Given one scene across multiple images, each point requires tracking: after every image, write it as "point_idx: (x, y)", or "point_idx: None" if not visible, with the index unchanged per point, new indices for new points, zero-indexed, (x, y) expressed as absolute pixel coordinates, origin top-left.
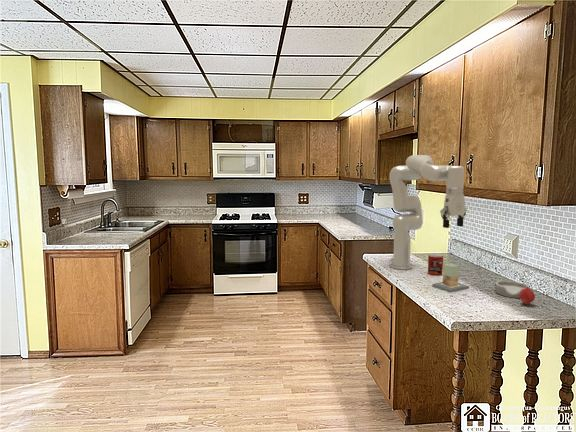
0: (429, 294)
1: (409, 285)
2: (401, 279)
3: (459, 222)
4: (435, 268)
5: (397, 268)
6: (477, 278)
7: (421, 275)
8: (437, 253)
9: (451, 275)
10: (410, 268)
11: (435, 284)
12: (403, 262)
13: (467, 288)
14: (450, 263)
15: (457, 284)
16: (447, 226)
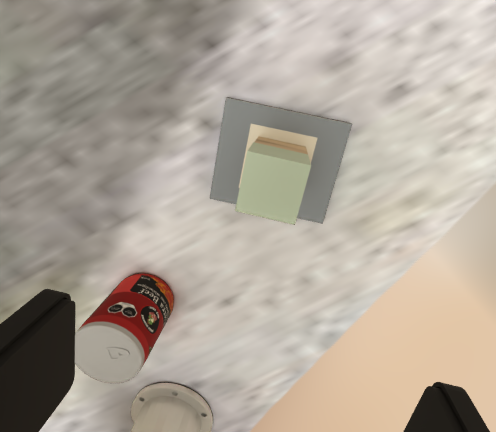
0: (444, 169)
1: (378, 285)
2: (323, 341)
3: (28, 398)
4: (158, 302)
5: (210, 412)
6: (56, 149)
7: (211, 319)
8: (76, 360)
9: (307, 155)
10: (169, 384)
11: (318, 211)
12: (184, 422)
13: (236, 99)
14: (238, 210)
15: (261, 137)
16: (467, 422)
